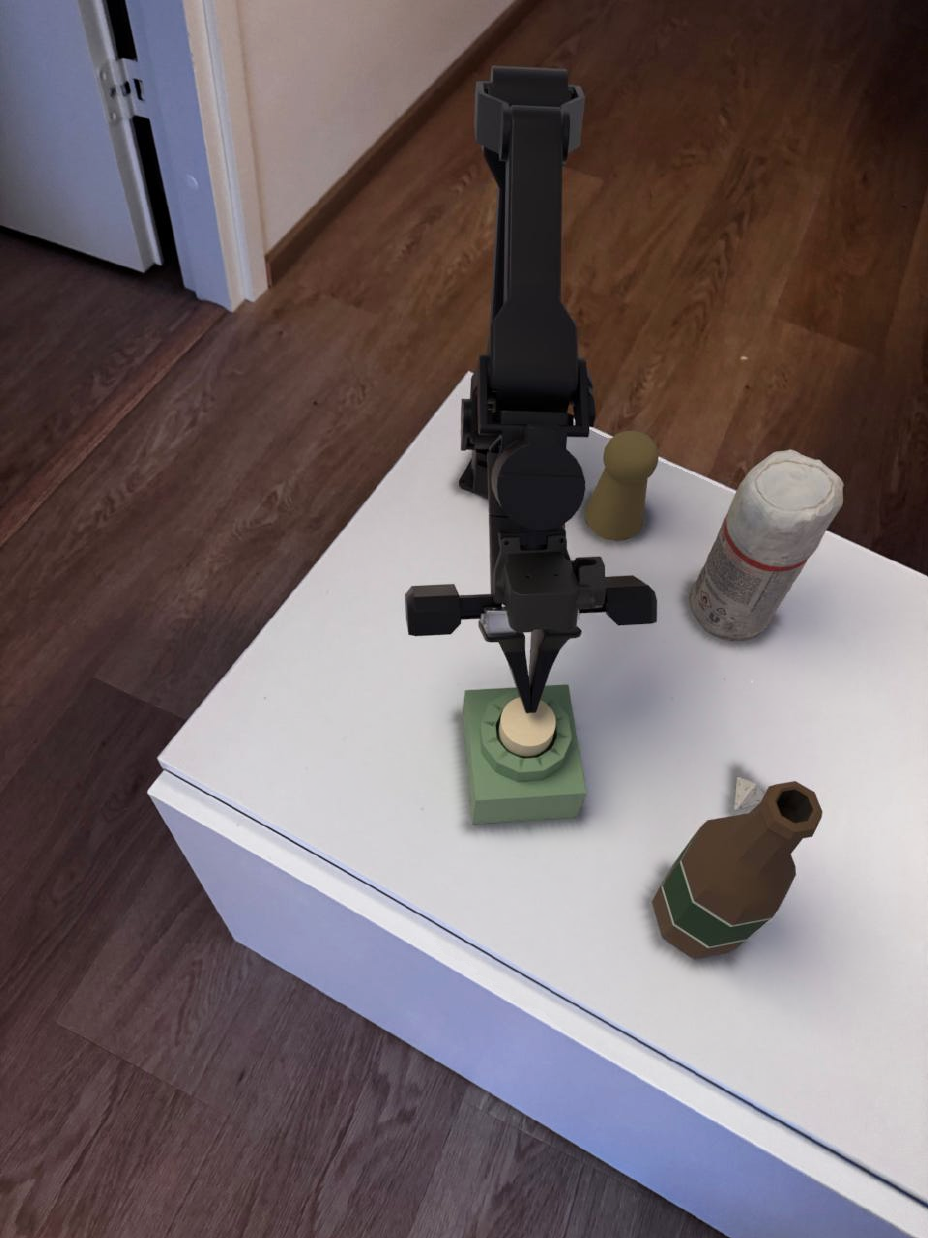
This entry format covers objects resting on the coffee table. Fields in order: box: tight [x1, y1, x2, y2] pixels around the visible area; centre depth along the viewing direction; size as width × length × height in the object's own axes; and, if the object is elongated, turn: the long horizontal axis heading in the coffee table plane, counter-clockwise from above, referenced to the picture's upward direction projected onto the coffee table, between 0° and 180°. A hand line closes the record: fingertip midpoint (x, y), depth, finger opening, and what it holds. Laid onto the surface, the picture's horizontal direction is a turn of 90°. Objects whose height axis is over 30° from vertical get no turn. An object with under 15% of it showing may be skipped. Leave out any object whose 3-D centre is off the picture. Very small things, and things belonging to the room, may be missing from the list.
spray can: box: [688, 449, 845, 642], centre depth 86 cm, size 8×8×20 cm
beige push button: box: [499, 698, 556, 757], centre depth 78 cm, size 4×4×2 cm
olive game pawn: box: [584, 430, 659, 541], centre depth 96 cm, size 6×6×11 cm
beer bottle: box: [651, 780, 823, 960], centre depth 69 cm, size 8×8×24 cm
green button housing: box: [461, 684, 587, 825], centre depth 82 cm, size 10×9×8 cm
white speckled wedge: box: [733, 776, 765, 811], centre depth 84 cm, size 4×3×3 cm
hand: (530, 711), depth 76 cm, fingers closed
